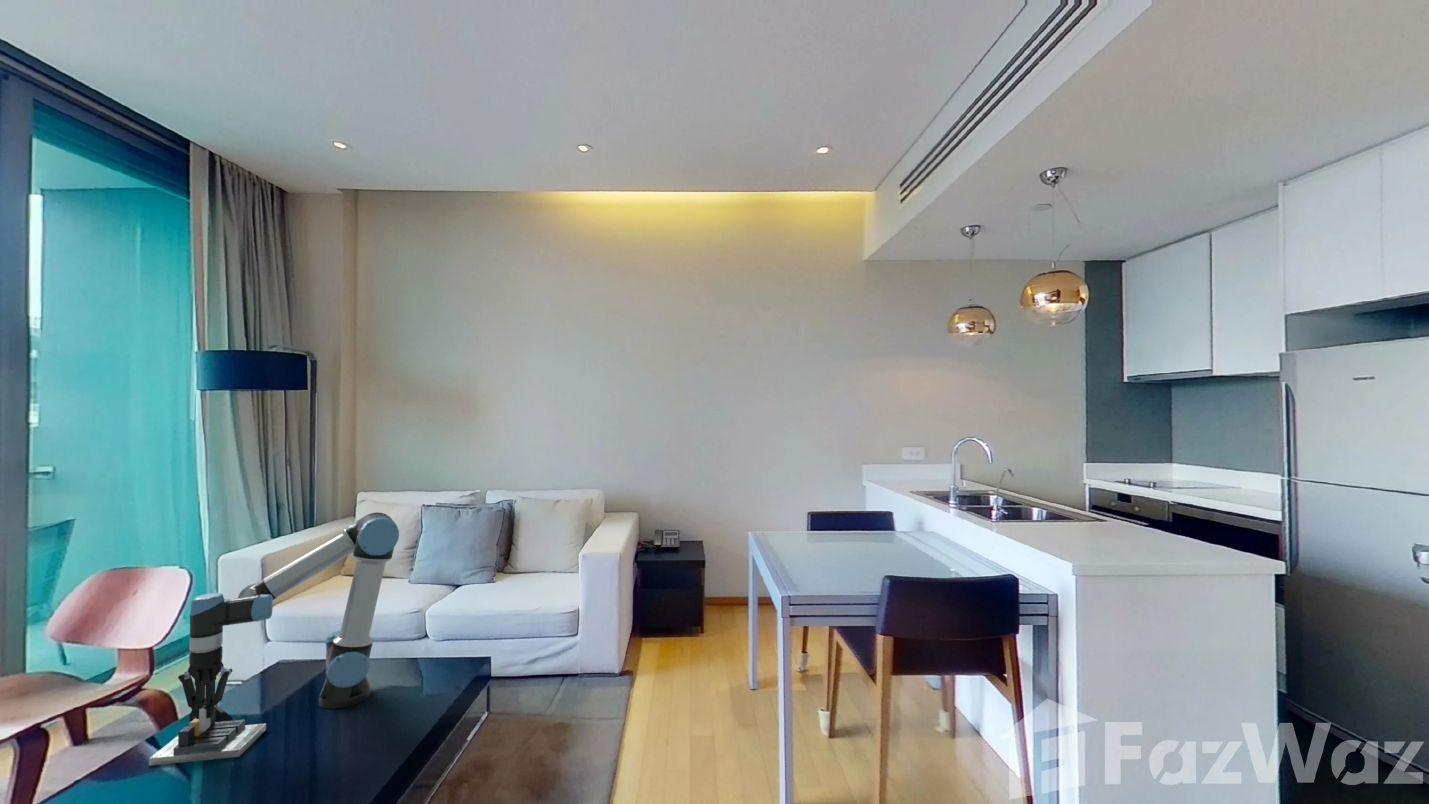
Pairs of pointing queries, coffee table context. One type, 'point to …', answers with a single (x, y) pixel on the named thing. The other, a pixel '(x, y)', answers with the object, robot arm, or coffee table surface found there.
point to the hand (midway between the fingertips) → (204, 728)
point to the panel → (209, 754)
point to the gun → (219, 715)
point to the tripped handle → (196, 726)
